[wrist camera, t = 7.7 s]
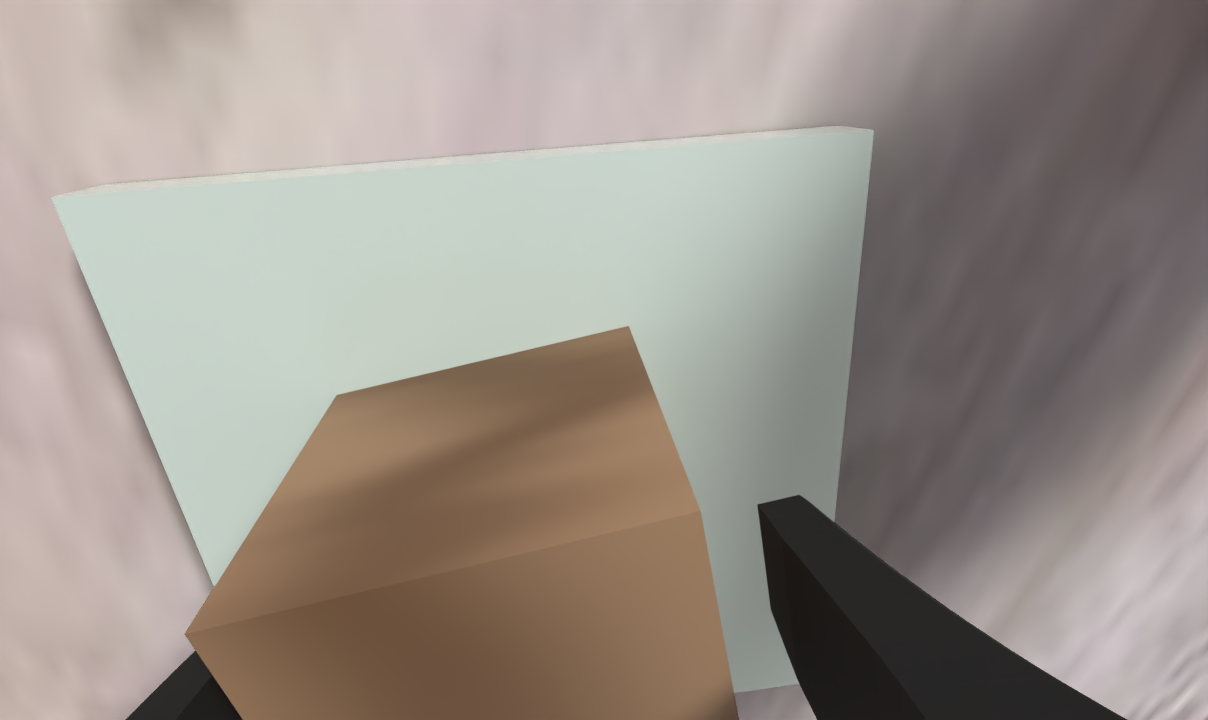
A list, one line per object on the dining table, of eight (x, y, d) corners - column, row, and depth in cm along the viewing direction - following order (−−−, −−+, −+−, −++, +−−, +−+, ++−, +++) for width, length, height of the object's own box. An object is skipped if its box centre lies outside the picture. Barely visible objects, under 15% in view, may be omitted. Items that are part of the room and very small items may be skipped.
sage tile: (839, 125, 11) (874, 130, 10) (798, 639, 16) (818, 681, 15) (104, 184, 10) (51, 197, 9) (302, 706, 15) (284, 755, 14)
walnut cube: (628, 325, 11) (700, 511, 6) (676, 553, 13) (756, 819, 8) (336, 394, 10) (184, 633, 6) (432, 612, 13) (374, 912, 8)
